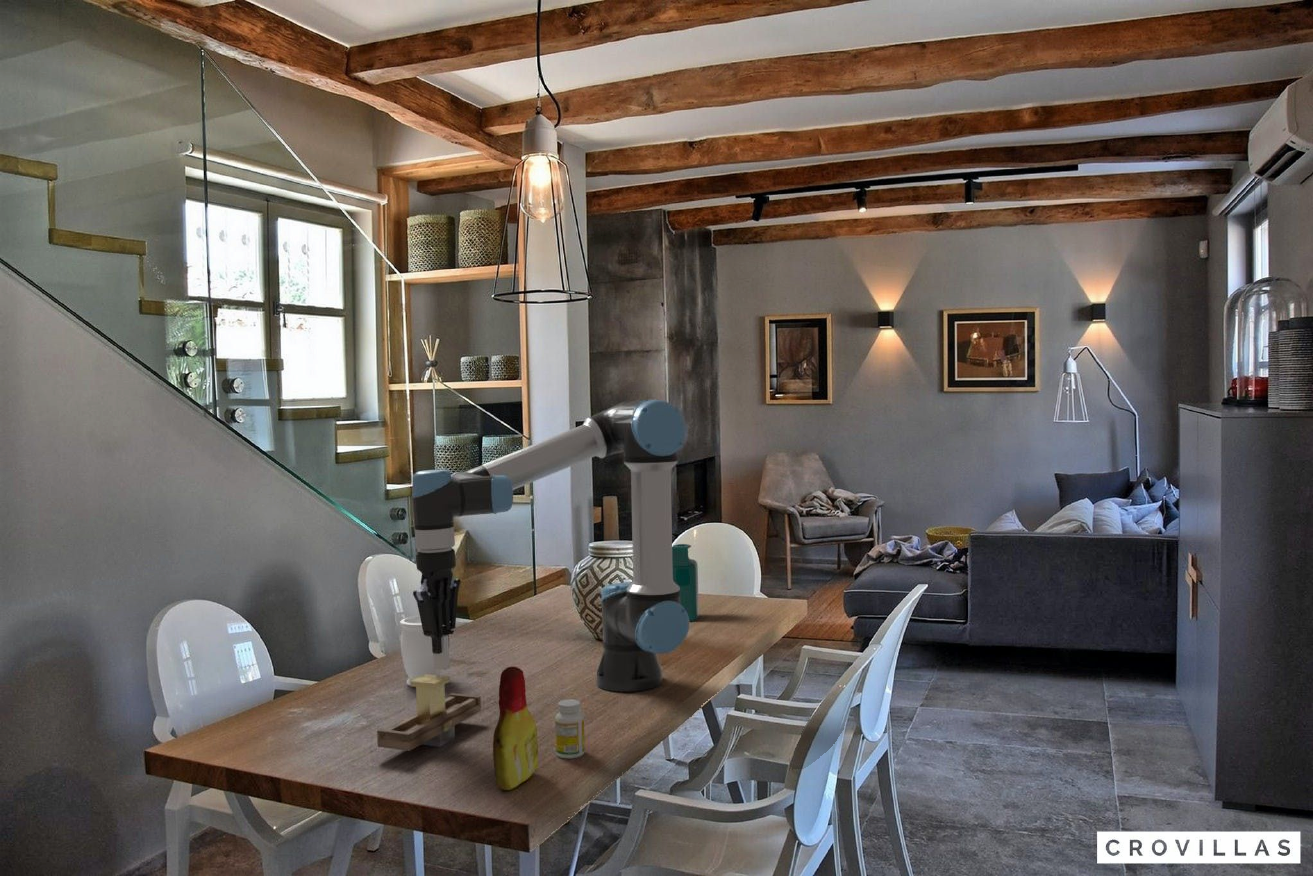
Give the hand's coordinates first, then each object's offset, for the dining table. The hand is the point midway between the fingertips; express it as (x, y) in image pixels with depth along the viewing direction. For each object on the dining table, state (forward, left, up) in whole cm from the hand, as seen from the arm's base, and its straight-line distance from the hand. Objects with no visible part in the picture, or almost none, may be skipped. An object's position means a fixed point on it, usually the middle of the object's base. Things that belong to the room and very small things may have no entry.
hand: (441, 668), depth 196 cm
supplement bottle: (-29, +2, -14) cm, 32 cm away
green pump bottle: (-10, -107, -14) cm, 109 cm away
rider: (0, +4, -9) cm, 10 cm away
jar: (+25, -29, -14) cm, 41 cm away
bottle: (-26, +17, -14) cm, 33 cm away
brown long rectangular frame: (0, +4, -13) cm, 14 cm away
